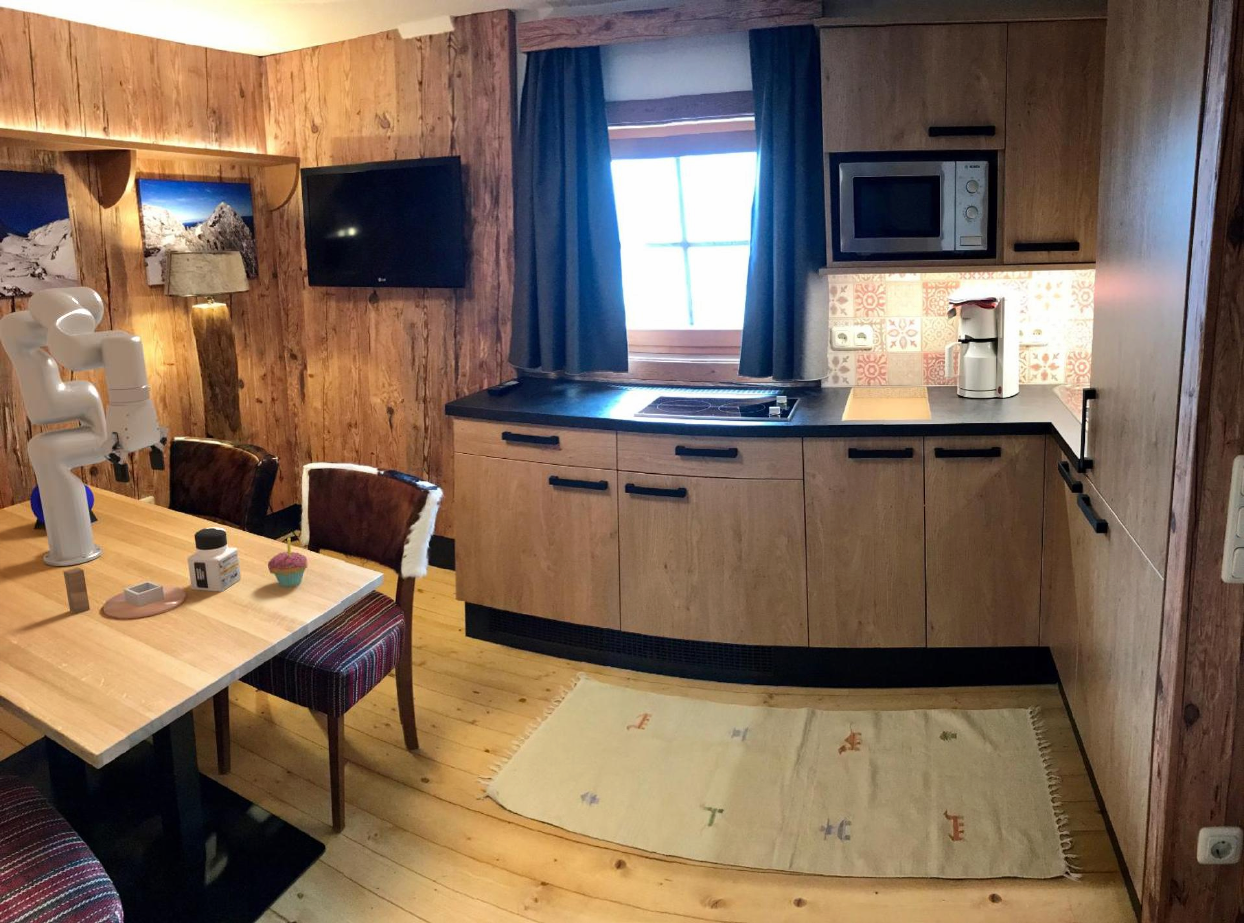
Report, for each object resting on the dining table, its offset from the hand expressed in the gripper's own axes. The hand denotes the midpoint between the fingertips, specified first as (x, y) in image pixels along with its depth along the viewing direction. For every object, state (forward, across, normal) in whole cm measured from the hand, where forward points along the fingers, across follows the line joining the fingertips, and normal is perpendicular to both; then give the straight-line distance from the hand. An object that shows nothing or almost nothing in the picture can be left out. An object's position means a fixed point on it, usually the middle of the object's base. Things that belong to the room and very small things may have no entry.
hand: (141, 475), depth 206 cm
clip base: (+28, +2, -2) cm, 28 cm away
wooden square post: (+28, +9, -13) cm, 32 cm away
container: (+28, -12, +5) cm, 31 cm away
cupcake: (+29, -17, +21) cm, 39 cm away
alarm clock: (+28, -36, -64) cm, 78 cm away
